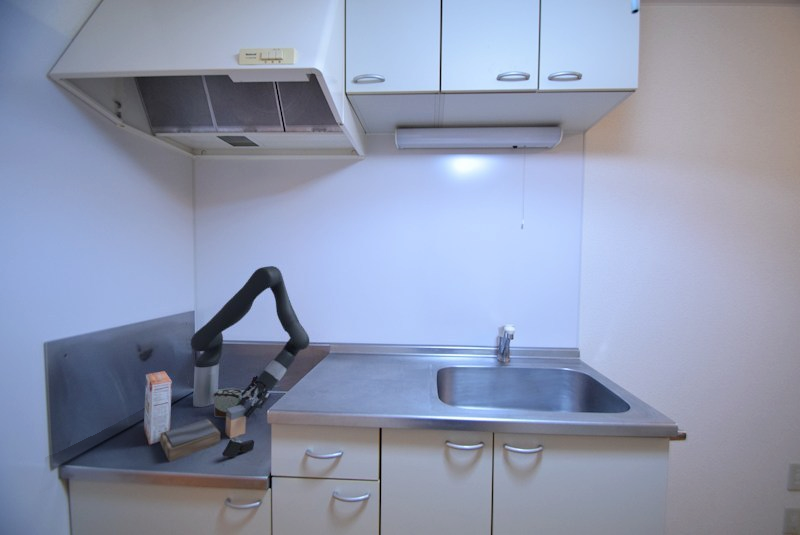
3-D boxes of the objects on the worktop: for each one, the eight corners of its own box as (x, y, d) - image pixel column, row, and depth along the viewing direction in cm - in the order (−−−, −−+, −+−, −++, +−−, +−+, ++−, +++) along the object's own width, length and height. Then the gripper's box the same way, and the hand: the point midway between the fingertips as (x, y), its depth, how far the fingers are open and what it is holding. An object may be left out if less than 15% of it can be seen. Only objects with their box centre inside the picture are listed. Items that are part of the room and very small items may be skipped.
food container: (248, 411, 124) (249, 388, 124) (239, 418, 118) (240, 394, 118) (221, 409, 125) (222, 386, 126) (211, 416, 119) (212, 391, 119)
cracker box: (142, 430, 107) (145, 373, 108) (163, 424, 112) (165, 370, 112) (147, 446, 98) (150, 384, 98) (169, 439, 102) (172, 379, 103)
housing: (225, 433, 107) (226, 408, 107) (239, 428, 111) (240, 404, 111) (230, 438, 104) (231, 413, 104) (245, 433, 108) (246, 408, 108)
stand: (160, 443, 100) (160, 431, 100) (207, 428, 110) (207, 417, 110) (169, 461, 90) (170, 448, 90) (219, 443, 101) (220, 431, 101)
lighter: (244, 457, 98) (254, 439, 100) (247, 459, 96) (257, 441, 99) (221, 452, 92) (232, 433, 95) (223, 455, 91) (234, 436, 93)
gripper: (258, 365, 121) (226, 402, 112) (274, 374, 111) (241, 414, 102) (270, 375, 124) (240, 411, 115) (286, 384, 115) (255, 424, 106)
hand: (240, 412), depth 109 cm, fingers open, 8 cm apart
